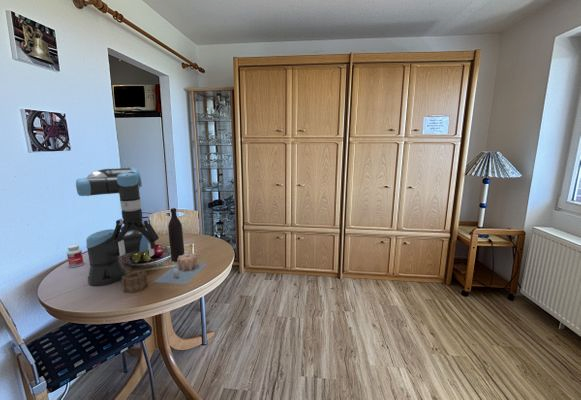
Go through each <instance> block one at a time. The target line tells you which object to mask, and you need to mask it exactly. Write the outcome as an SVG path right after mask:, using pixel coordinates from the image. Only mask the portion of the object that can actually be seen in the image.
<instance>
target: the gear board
mask: <svg viewBox="0 0 581 400" xmlns="http://www.w3.org/2000/svg"><path fill="white" fill-rule="evenodd" d="M197 263H198V262H197ZM206 266H207V263H198V265H197V268H194V269H192V270H191V271H190V270H185V271H182V270H178V263H176V264H174V266H173V267H171V268H169V269H168V270H167V271H166V272H165V273H163V274H162V275H161V276H159V277H158V278H156V279H155V280H154V281H153V283H156V284H157V283H159V284H170V285H172V284H173V285H186V284H188V282H189V281H191V280H192V279H193V278H194V277H195V276H196V275H197V274H199V272H200V271H201V270H202V269H203V268H204V267H206Z"/></svg>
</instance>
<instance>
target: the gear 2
mask: <svg viewBox="0 0 581 400" xmlns="http://www.w3.org/2000/svg"><path fill="white" fill-rule="evenodd" d="M184 253H185V252H184ZM177 261H178V262H177V264H178V270H182V271H185V270H190V271H191V270H192V269H194V268H197V265H198V254H196V253H195V254H194V253H193V252H190V253H185V254H184V255H181V256H178V258H177Z"/></svg>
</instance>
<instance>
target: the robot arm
mask: <svg viewBox="0 0 581 400" xmlns="http://www.w3.org/2000/svg"><path fill="white" fill-rule="evenodd" d="M141 178H142V177H141V175H140V172H139V170H138V169H137V167H125V168H124V167H123V168H104V169H100V170H95V171H93V172H91V173H90V174H89V173H88V176H87V177H83V178H77V179H76V180H75V187H76V193H77V195H78V196H80V197H90V196H91V197H92V196H97V195H98V196H99V195H112V194H118V195H119V202H120V209H121V218H120V219H117V220H115V228H114V229H111V228H110V229H104V230H99V231H96V232H94V233H92V234H89V235H88V236H87V238H86V249H87V254H88V260H89V272H88V276H87V284H88V285H89V286H94V287H97V286H98V287H99V286H106V285H109V284H110V285H111V284H113V283H116V282H118V281H120V280H122V278H121V277H122V276H125V275H126V270H125V268H124V267H123V263H121V261H120V257H121V256H126V255H132V254H136V253H142V252H146V251H148V255H149V257H150V258H151V257H153V256H154V255H155V248H156V241H158V240H159V238H160V237H159V235H158V234H157V233H156V231H155V229H154V227H153V226H152V224H151V221H150V219H145V220H144V219H143V212H142V211H143V210H142V202H141V197H140V196H141V195H140V188H141V187H142V186H143V183H142V179H141Z"/></svg>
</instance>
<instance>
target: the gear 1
mask: <svg viewBox="0 0 581 400" xmlns="http://www.w3.org/2000/svg"><path fill="white" fill-rule="evenodd" d="M121 278H122V279H121V285H122V289H123V293H131V294H133V293H135V292H138V291H143V290H144V288H145V287H148V286H149V285H148V277H147V272H146V270H134V271H131V272H130V271H129V272H126V273H125V276H122V277H121Z"/></svg>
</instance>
